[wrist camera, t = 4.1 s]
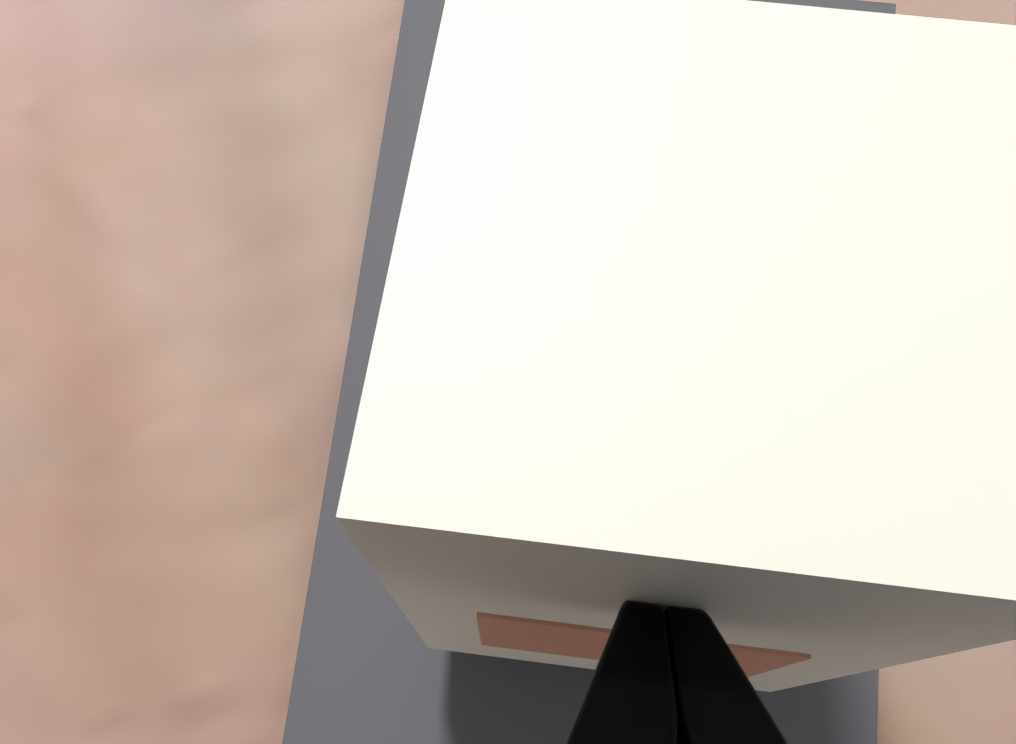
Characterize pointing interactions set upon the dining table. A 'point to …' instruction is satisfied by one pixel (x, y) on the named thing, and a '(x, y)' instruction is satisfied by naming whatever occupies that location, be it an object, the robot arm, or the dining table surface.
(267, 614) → the dining table surface
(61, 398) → the dining table surface
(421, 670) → the mat
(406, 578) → the block
